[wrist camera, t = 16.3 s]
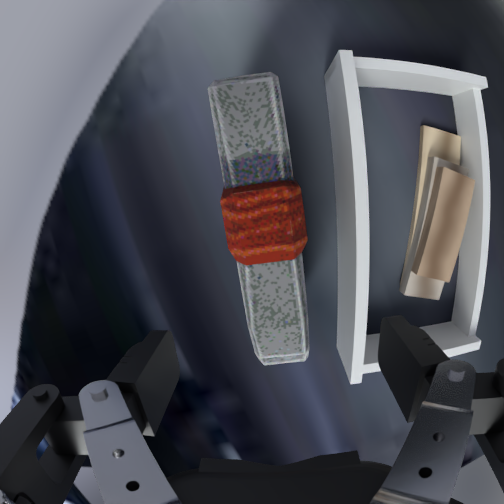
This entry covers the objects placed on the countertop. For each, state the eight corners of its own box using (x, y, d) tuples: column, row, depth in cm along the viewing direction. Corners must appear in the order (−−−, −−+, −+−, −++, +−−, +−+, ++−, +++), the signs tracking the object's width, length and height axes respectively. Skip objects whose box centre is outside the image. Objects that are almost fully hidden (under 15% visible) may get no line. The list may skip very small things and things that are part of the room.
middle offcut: (461, 169, 38) (468, 169, 36) (433, 295, 43) (438, 299, 41) (427, 156, 38) (434, 156, 36) (399, 290, 43) (404, 295, 41)
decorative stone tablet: (195, 76, 20) (255, 404, 29) (284, 62, 19) (319, 397, 29) (226, 108, 38) (259, 313, 48) (275, 101, 38) (301, 308, 47)
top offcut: (467, 179, 36) (475, 180, 34) (442, 278, 40) (449, 282, 38) (436, 166, 36) (443, 166, 34) (410, 270, 40) (416, 274, 38)
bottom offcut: (454, 137, 39) (460, 136, 37) (433, 285, 44) (439, 289, 42) (417, 126, 39) (423, 125, 37) (397, 283, 44) (402, 287, 43)
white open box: (457, 88, 36) (494, 74, 26) (456, 327, 45) (485, 355, 35) (323, 76, 37) (339, 49, 27) (336, 346, 46) (350, 384, 37)
